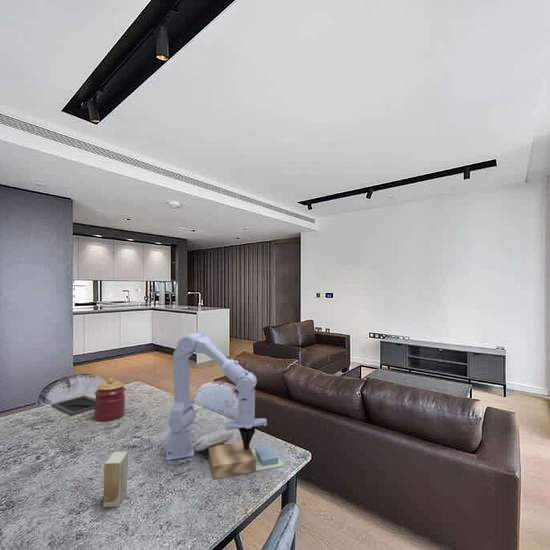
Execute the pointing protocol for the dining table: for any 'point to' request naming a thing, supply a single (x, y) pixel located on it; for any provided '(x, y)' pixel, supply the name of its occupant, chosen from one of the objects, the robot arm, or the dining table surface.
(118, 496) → the skincare box
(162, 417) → the dining table surface
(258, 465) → the mat
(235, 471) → the light brown flat block
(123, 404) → the canister
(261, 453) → the blue box
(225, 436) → the photo printer
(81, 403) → the picture frame
